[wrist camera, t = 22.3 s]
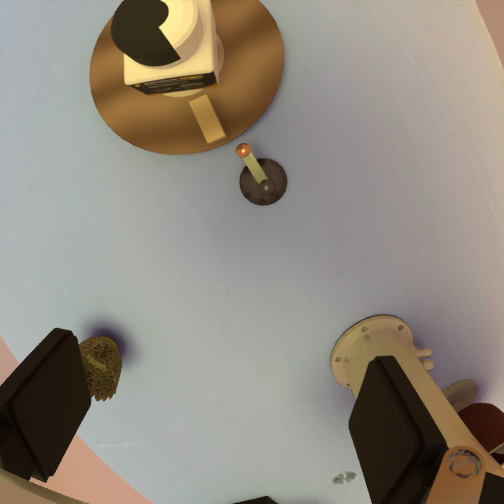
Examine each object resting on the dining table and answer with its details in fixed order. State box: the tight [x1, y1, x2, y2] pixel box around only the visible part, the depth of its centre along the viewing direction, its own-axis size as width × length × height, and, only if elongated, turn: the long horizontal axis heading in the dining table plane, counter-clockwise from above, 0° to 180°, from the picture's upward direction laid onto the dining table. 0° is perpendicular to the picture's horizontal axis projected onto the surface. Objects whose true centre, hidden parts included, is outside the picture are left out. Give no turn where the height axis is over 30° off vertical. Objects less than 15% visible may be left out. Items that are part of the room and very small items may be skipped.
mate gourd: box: [442, 380, 504, 467], centre depth 39 cm, size 16×14×20 cm
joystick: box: [236, 143, 287, 206], centre depth 32 cm, size 7×5×6 cm
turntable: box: [90, 0, 284, 155], centre depth 26 cm, size 20×20×6 cm
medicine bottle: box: [111, 0, 219, 96], centre depth 21 cm, size 7×7×12 cm
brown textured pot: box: [79, 335, 122, 401], centre depth 37 cm, size 8×7×8 cm
